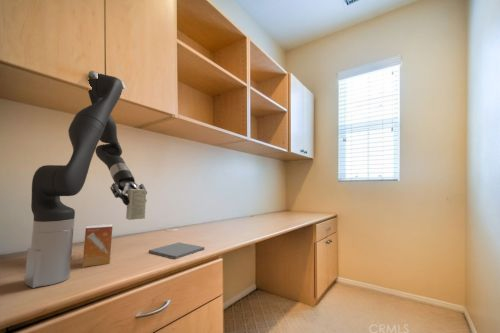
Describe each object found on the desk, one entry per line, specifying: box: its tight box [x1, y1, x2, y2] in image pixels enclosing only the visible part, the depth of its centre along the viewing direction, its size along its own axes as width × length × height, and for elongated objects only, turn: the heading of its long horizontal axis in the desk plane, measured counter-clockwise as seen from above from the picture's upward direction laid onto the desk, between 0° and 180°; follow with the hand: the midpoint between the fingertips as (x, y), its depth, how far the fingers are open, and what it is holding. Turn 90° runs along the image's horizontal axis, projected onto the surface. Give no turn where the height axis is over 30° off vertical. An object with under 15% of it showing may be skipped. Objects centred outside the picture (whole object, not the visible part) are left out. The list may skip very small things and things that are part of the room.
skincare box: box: [125, 188, 147, 221], centre depth 95 cm, size 6×4×12 cm
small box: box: [82, 223, 113, 268], centre depth 82 cm, size 8×6×13 cm
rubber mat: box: [148, 242, 205, 260], centre depth 98 cm, size 16×16×1 cm
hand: (136, 203), depth 95 cm, fingers closed on skincare box, 7 cm apart
